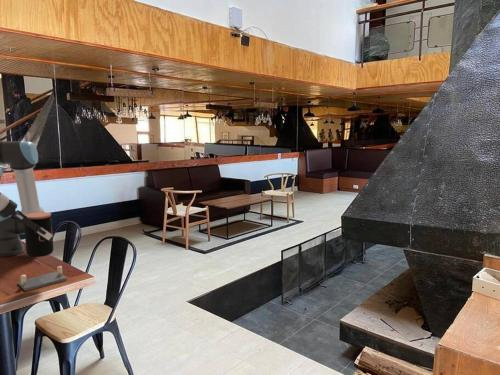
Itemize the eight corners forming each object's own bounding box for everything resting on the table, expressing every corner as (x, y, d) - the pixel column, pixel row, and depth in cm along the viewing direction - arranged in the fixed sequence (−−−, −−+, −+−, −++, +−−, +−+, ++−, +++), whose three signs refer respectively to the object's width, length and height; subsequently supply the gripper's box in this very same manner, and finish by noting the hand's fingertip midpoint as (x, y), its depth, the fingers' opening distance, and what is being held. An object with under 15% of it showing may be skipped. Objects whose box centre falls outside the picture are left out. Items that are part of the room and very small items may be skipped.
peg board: (25, 291, 156) (24, 279, 155) (17, 283, 163) (16, 272, 163) (66, 280, 168) (66, 269, 168) (58, 273, 176) (57, 263, 175)
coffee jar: (42, 258, 157) (39, 218, 155) (20, 256, 159) (17, 216, 157) (59, 250, 168) (56, 212, 165) (38, 249, 170) (36, 211, 167)
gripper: (-12, 208, 157) (31, 236, 171) (3, 217, 142) (49, 247, 155) (2, 195, 160) (43, 223, 174) (17, 202, 145) (61, 233, 158)
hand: (46, 235), depth 165 cm, fingers closed on coffee jar, 11 cm apart
